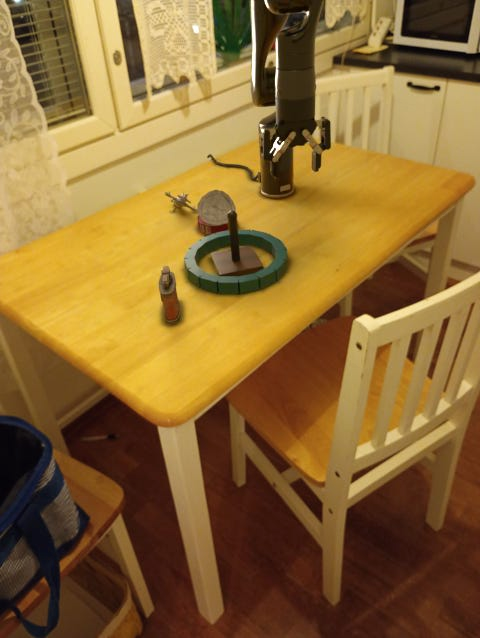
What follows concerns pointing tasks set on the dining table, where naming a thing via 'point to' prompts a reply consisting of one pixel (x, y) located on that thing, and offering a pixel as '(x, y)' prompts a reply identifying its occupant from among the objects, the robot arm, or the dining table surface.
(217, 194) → the canned food
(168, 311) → the lighter
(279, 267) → the ring
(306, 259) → the dining table surface
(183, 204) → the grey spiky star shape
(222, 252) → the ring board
